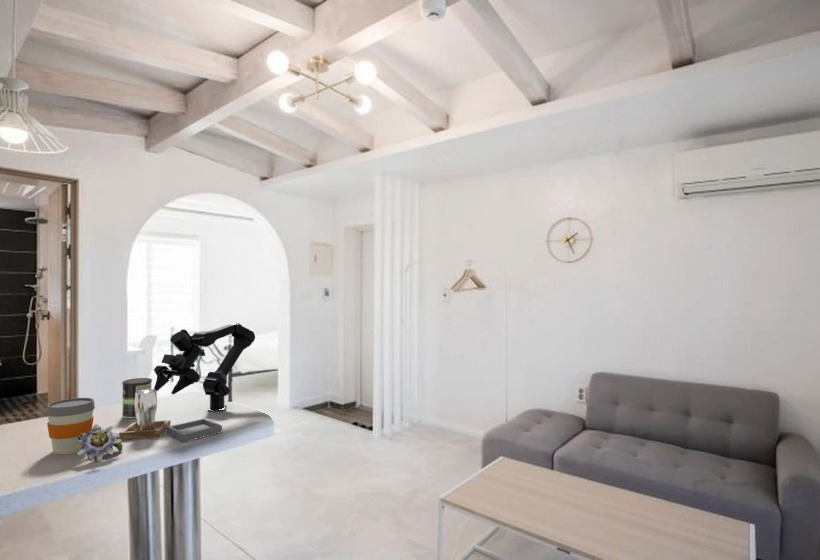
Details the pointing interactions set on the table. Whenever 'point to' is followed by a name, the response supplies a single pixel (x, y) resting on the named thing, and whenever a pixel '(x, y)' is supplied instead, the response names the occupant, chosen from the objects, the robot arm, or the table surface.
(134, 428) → the walnut collar
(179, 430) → the coaster tray
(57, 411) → the reusable coffee cup
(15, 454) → the table surface
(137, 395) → the shiny silver hollow cylinder
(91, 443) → the passion flower
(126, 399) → the coffee can
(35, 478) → the table surface
